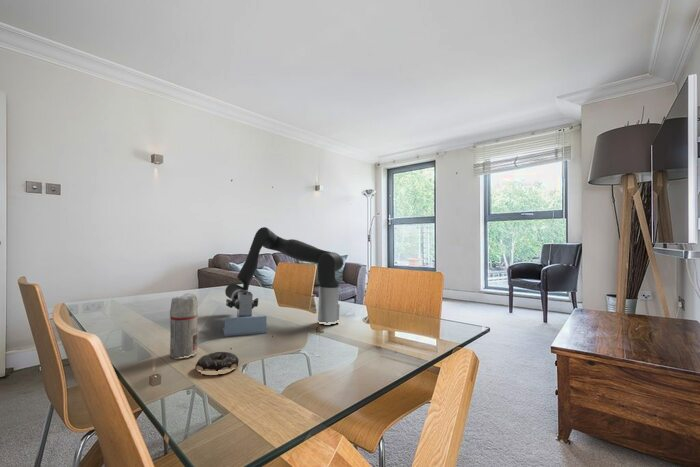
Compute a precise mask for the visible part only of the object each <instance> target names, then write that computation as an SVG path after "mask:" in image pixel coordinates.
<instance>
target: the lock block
mask: <svg viewBox="0 0 700 467" xmlns="http://www.w3.org/2000/svg"><path fill="white" fill-rule="evenodd" d="M253 296H254V295H253V293H252V292H251V291H249V289H248V290H244V291H243V292H238V303H239V309H237V308H236V317H252V314H253V309H252V300H253V298H254V297H253Z"/></svg>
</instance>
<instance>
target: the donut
mask: <svg viewBox="0 0 700 467" xmlns="http://www.w3.org/2000/svg"><path fill="white" fill-rule="evenodd" d="M239 360H240V359H239V358H238V355H236V354H235V353H233V352H228V351H217V352H211V353H209V354H205V355H202V356H200V358H199V359H198V361H197V362H196V364H195V369H196V370H197V369H198V370H201V371H218V370H225V369H232V368H237V369H238V368H239Z"/></svg>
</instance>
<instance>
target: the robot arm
mask: <svg viewBox="0 0 700 467" xmlns="http://www.w3.org/2000/svg"><path fill="white" fill-rule="evenodd" d="M262 248H265V249H267V250H270V251H271V250H272V251H276V252H279V253H280V254H281V253H282V254H283V255H285V256H288V257H290V258H292V259H294V260H297V261H300V262H308V263H313V264H314V263H315V264H317V281H318V284H319V285H318V305H317V306H318V309H317V310H318V311H317V322H318V321H319V322H326V323H328V322H335V321H337V320H339V321H340V306H341V305H340V303H339V288H340V287H339V286H340V283H339V280H337V278H336V274H335V273H336V272H337V271H339V270H341V269H342V267H343V266H344V259H343V258H342V256H341V255H340V254H339V253H338V252H332V251H328V250H323V249H321V248H318V247H316V246H314V245H311V244H308V243H306V242H303V241H301V240H298V239H293V238H291V239H286V238H283V237H281V236H278V235H277V234H275V233H274V231H272V230H271V229H270V228H268V227H266V226H265V227H260V228H259V229H258V230H257V231H256V233H255V235H254V237H253V240H252V243H251V246H250V248H249V251H248V253H247V257H246V259H245V261H244V263H243V264H242V267H241V269H240V270H239V273H238V274H237V276H236V278H237V280H239V281H240V282H241V283H242V286H241V285H238V284H237V283H235V282H234V283H233V282H232V283H229V284H228V285H227V286H226V288H225V290H224V291H225V293H224V294H225V296H226V297H227V299H225V301H226V303H225V305H226V306H227V307H228V308H230V309H232V308H234V309H236V310H237V309H239V303H238V292H243V291H244V290H248V291H249V287H250V283H251V281H252V279H253V277H254V275H255V273H256V272H257V269H258V264H259V257H260V252H261V250H262ZM228 298H229V299H228ZM258 306H259V298H258V297H256V298H254V299H252V310H253V309H254V308H256V307H258Z"/></svg>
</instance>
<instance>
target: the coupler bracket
mask: <svg viewBox="0 0 700 467" xmlns="http://www.w3.org/2000/svg"><path fill="white" fill-rule="evenodd" d="M267 319H268V318H267V315H255V316H252V317H237V316H236V317H225V318H224V327H222V333H223V336H224V337H233V336H243V335H245V336H246V335H253V334H255V335H257V334H266V333H267Z"/></svg>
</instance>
